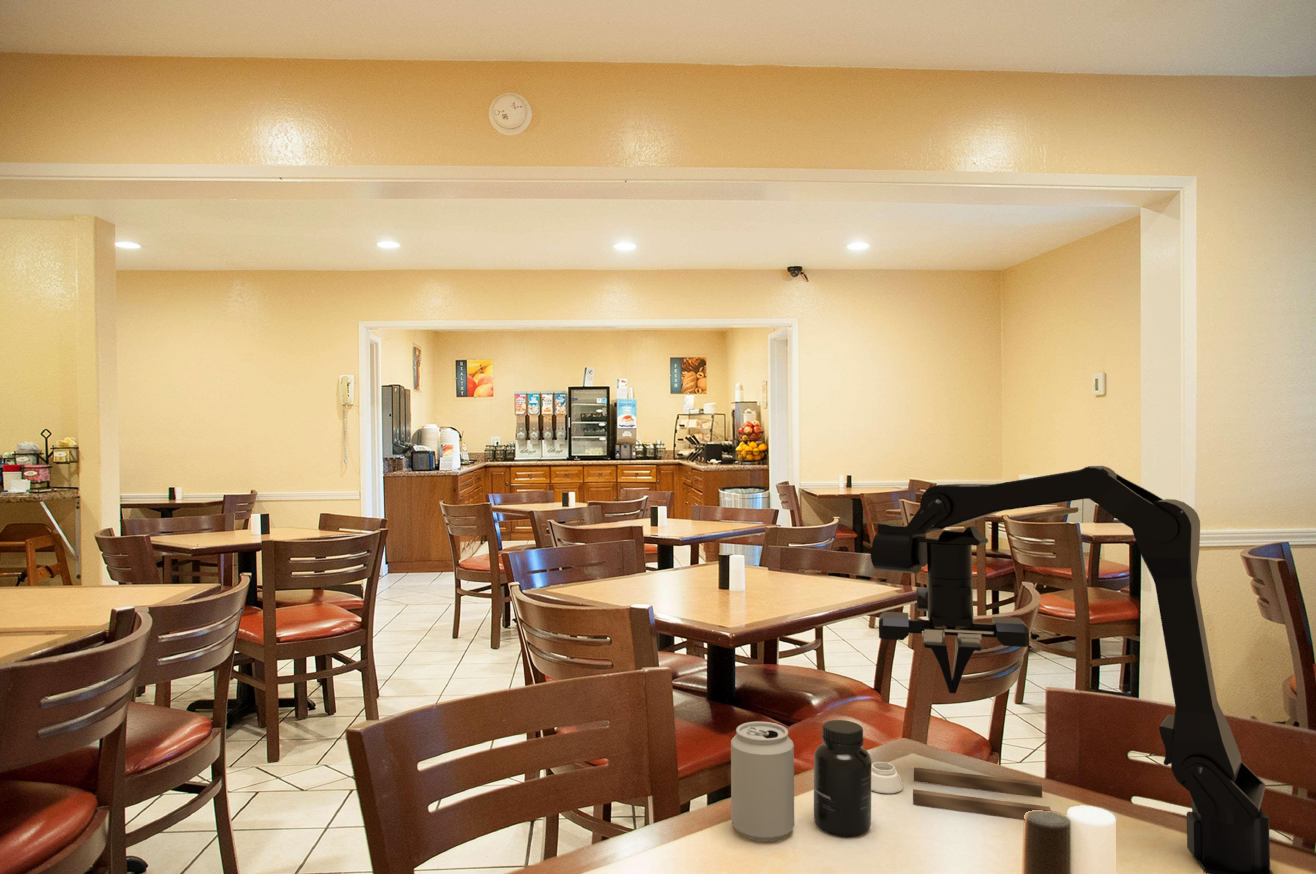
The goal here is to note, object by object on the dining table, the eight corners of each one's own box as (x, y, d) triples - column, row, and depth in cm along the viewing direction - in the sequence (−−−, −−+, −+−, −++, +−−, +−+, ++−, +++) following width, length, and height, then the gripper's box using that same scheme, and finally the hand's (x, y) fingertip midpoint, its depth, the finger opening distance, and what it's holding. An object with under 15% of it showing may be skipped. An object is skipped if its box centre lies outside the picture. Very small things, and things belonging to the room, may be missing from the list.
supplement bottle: (806, 831, 93) (805, 729, 94) (822, 808, 99) (821, 713, 100) (864, 844, 90) (863, 739, 90) (877, 820, 96) (876, 721, 97)
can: (793, 847, 89) (792, 741, 90) (727, 841, 91) (727, 737, 91) (795, 818, 97) (794, 720, 97) (734, 812, 98) (734, 716, 99)
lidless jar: (874, 777, 109) (857, 789, 106) (874, 756, 109) (857, 766, 106) (908, 787, 106) (893, 799, 102) (908, 765, 106) (892, 777, 102)
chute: (1040, 793, 104) (1040, 782, 104) (1051, 823, 95) (1051, 810, 95) (913, 778, 109) (913, 767, 109) (912, 804, 100) (912, 792, 100)
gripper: (1016, 570, 111) (1019, 681, 111) (880, 566, 117) (882, 672, 116) (1028, 582, 101) (1031, 705, 100) (877, 577, 106) (879, 693, 106)
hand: (952, 692), depth 106 cm, fingers closed
